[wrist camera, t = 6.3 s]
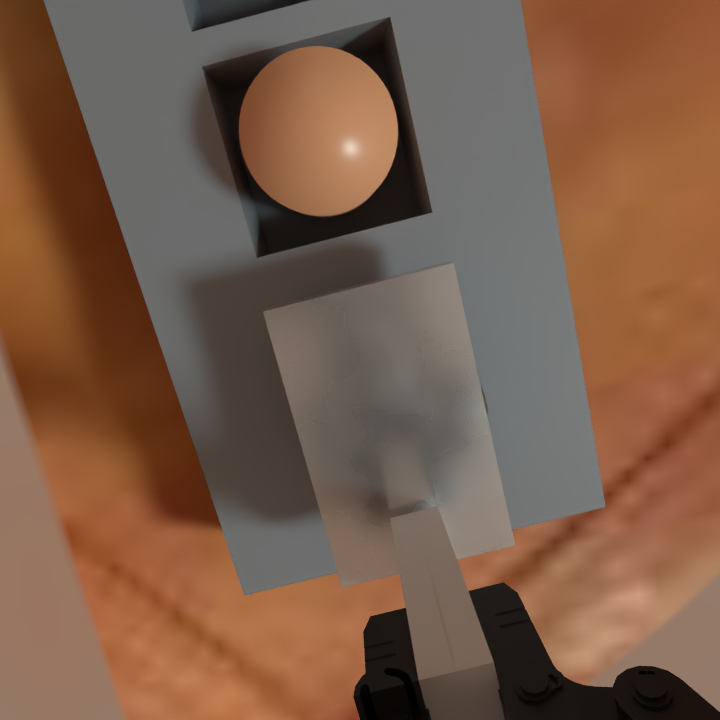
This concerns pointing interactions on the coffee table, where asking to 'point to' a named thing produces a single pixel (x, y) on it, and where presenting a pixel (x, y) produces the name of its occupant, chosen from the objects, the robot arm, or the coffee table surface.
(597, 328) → the coffee table surface
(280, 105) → the button
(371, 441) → the block
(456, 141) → the grey slotted block
